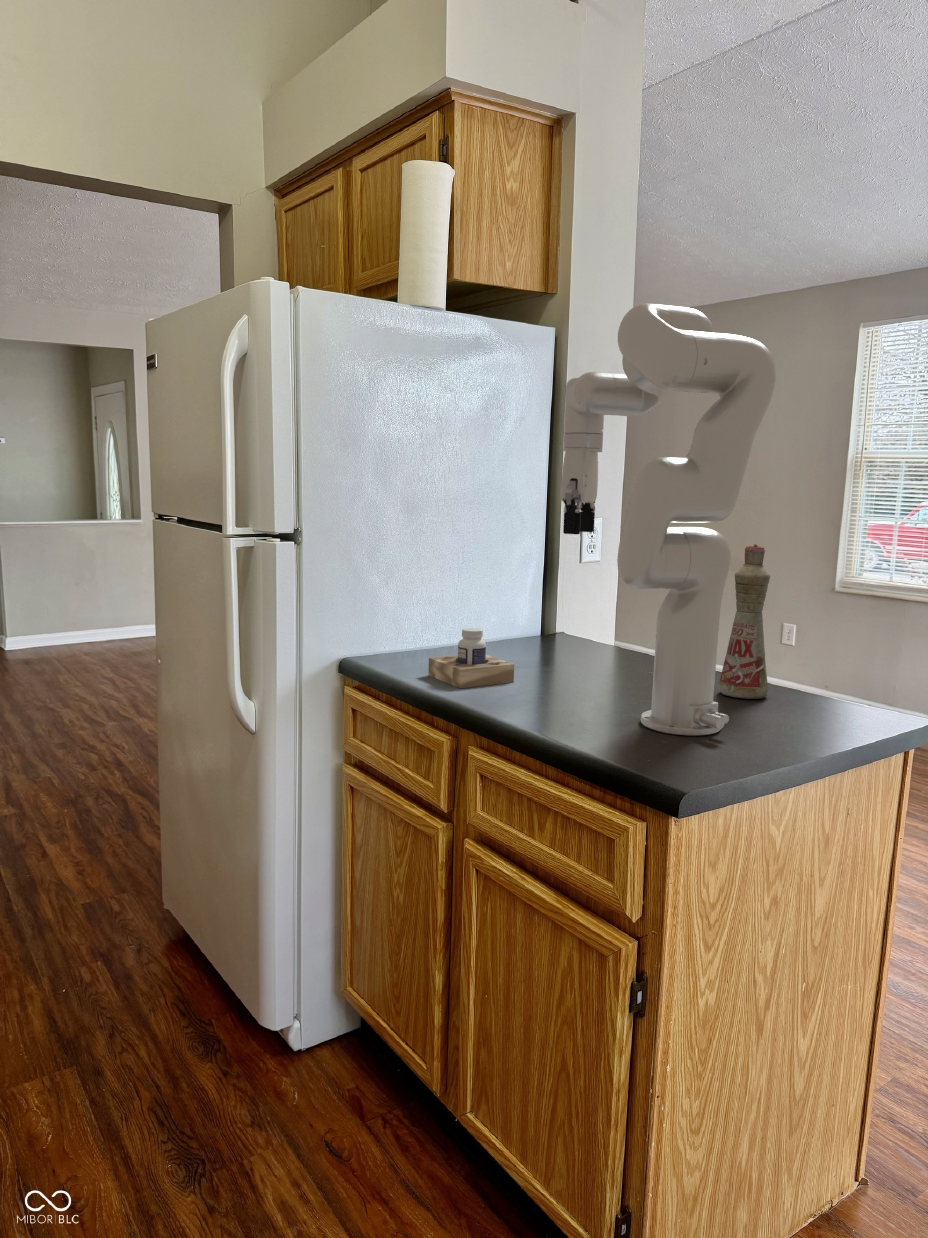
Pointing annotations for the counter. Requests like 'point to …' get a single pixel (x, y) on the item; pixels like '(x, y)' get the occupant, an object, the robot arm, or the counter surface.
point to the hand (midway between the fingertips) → (578, 532)
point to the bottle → (747, 632)
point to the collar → (471, 671)
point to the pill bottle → (472, 647)
